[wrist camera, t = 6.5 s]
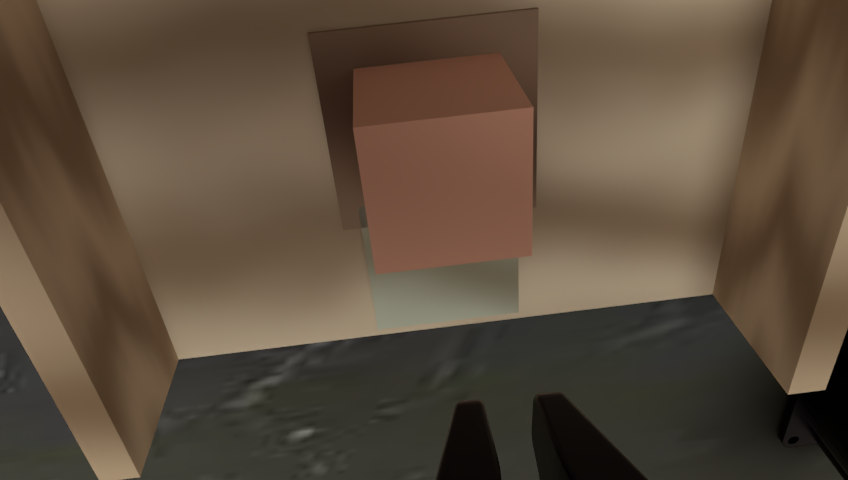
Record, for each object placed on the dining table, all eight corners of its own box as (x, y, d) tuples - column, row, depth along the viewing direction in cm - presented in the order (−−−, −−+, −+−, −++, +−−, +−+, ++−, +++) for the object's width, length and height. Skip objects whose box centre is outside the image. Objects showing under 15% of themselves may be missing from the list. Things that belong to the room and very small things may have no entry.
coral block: (502, 182, 21) (532, 255, 17) (372, 197, 21) (375, 274, 17) (500, 52, 19) (533, 107, 15) (353, 68, 18) (352, 127, 15)
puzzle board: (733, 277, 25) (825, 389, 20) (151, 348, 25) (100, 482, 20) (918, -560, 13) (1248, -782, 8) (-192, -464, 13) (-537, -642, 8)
